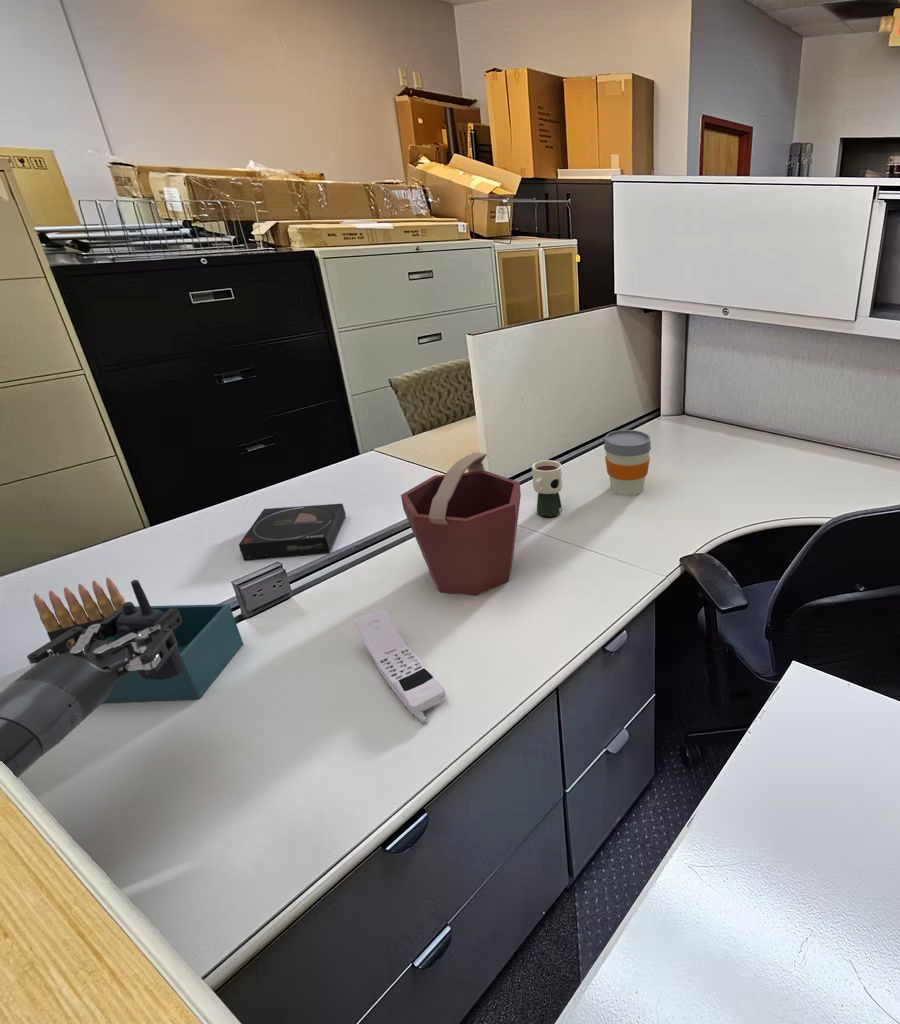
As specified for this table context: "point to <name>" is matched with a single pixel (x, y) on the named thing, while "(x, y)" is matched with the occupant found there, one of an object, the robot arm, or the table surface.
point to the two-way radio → (141, 620)
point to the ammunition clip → (78, 609)
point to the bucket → (465, 526)
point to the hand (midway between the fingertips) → (152, 613)
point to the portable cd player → (293, 532)
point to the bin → (187, 656)
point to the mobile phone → (399, 663)
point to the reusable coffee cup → (627, 460)
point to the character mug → (547, 486)
